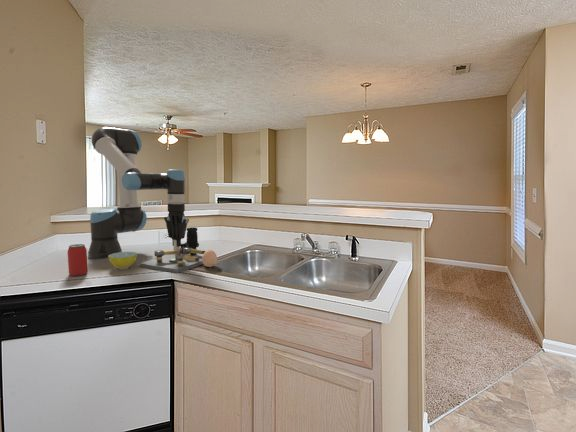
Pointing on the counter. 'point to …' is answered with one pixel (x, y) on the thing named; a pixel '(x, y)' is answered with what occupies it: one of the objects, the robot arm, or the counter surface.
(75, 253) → the beer can
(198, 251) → the knob
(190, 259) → the knob
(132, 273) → the counter surface
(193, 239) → the scope
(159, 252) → the knob near
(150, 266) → the base
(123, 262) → the bowl
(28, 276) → the counter surface
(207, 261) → the egg
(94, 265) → the counter surface
